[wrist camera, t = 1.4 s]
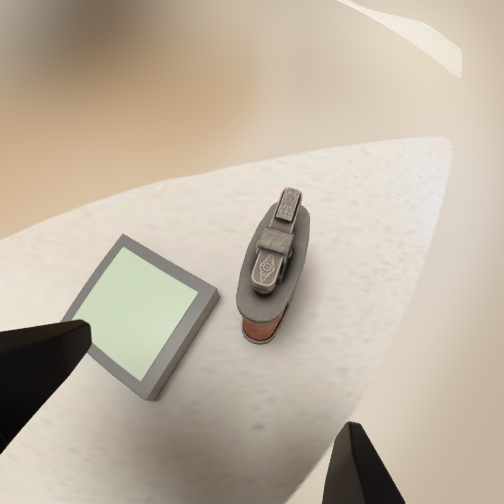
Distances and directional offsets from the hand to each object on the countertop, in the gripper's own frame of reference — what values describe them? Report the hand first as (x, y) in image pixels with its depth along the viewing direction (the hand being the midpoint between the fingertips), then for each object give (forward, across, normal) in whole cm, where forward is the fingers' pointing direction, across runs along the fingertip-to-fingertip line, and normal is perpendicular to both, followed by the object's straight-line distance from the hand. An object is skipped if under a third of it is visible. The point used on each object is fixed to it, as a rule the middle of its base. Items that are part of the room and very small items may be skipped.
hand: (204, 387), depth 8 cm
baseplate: (+11, +10, +8) cm, 17 cm away
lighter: (+15, 0, +4) cm, 16 cm away
